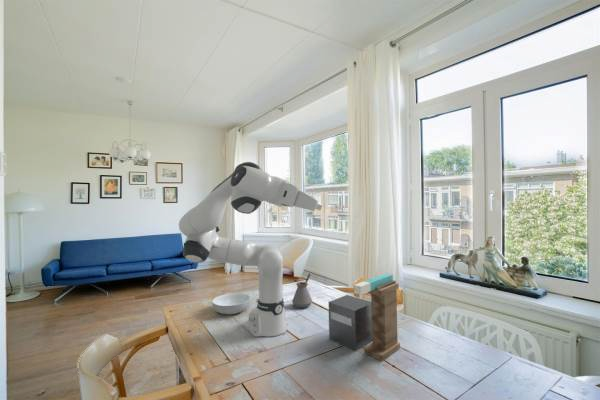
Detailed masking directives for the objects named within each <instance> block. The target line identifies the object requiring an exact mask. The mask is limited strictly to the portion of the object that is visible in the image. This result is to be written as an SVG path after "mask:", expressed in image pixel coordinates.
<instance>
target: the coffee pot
mask: <svg viewBox="0 0 600 400" xmlns="http://www.w3.org/2000/svg"><path fill="white" fill-rule="evenodd" d="M311 276H313V274H312V273H308V275H307V277H306V280H305V281H299V282H296V287H297V288H296V290H295V293H294V295H293V298H292V299H291V300H292V305H294V306H295V307H296V308H297V309H307V308H309V307H310V306H311V305H312V302H313V299H312V297H311V294H310V293H309V290H308V281H309V279H310V277H311Z"/></svg>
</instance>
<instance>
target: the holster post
mask: <svg viewBox="0 0 600 400" xmlns="http://www.w3.org/2000/svg"><path fill="white" fill-rule="evenodd" d="M398 289H399V283H398V282H397V281H396V280H394V279H393V281H391V282H388V283H386V284H383V285H381V286H378V287H376V289H375V290H372V291H370V292H367V293H366V294H370V302H371V312H372V342H370V343H368V344H367V345H365V346H364V347H363V349H364V351H363V352H364V354H365V355H369V356H371V357H373V358H375V359H377V360H379V361H381V362H384V361H385V360H386V359H388V358H389V357H390V356H392V355H393V354H394V353H396V352H397V351H398V350H399V349H401V343H400V342H399V341H398V304H397V303H398V302H397V301H398V300H397V299H398V298H397V290H398Z"/></svg>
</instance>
